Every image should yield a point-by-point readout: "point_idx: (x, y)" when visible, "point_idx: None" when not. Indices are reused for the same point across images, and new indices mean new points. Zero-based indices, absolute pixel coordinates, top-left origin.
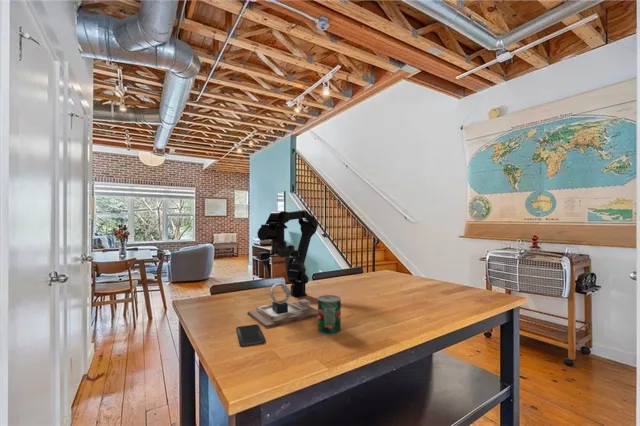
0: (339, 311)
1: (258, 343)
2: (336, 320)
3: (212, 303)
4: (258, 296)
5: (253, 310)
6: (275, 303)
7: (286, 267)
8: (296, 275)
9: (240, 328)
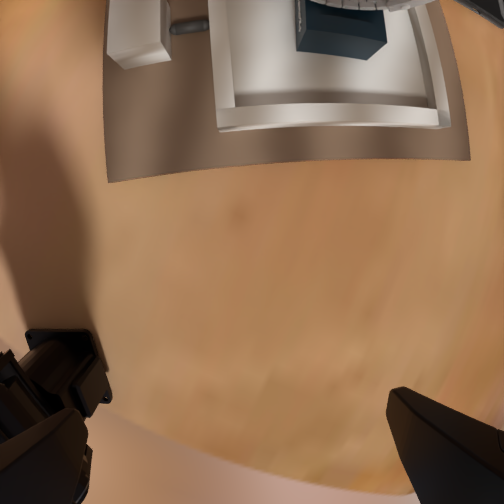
0: None
1: None
2: None
3: (490, 393)
4: (293, 441)
5: (444, 158)
6: (375, 4)
7: (61, 483)
8: (9, 403)
9: (498, 11)
